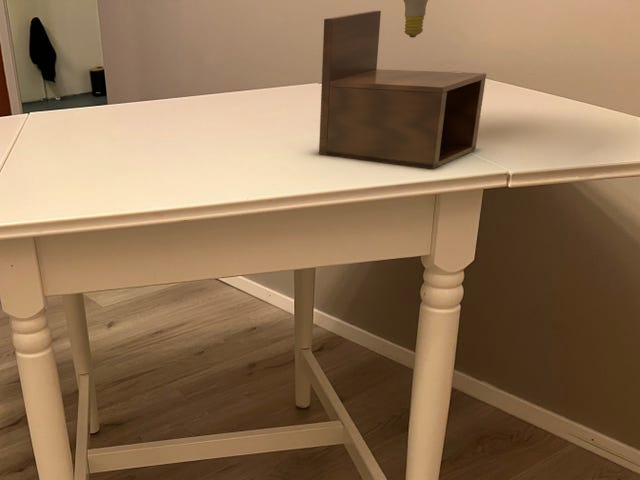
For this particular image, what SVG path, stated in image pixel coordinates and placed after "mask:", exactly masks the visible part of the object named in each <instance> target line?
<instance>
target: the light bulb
mask: <svg viewBox="0 0 640 480" xmlns="http://www.w3.org/2000/svg"><path fill="white" fill-rule="evenodd" d="M403 2H404V17H405V19H404V20H405V21H404V22H405V24H404V34H405V35H407V36H408V37H410V38H412V39H413V38H416V37H417V36H418V35H420V34H421V33H423V31H424V29H423V27H424V25H423V24H424V19H425V15H426V9H427V4H428V2H429V0H403Z"/></svg>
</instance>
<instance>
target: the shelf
mask: <svg viewBox="0 0 640 480" xmlns="http://www.w3.org/2000/svg"><path fill="white" fill-rule="evenodd" d="M381 16H382V11H381V10H369V11H364V12H363V11H362V12H358V13H352V14H346V15H340V16H334V17H327V18H324V19H323V37H322V38H323V39H322V41H323V42H322V63H321V65H322V66H321V68H322V69H321V88H320V89H321V94H320V117H319V118H320V120H319V140H318V141H319V144H318V154H319V155H323V156H324V155H325V156H331V157H338V158H345V159H354V160H362V161H368V162H369V161H370V162H376V163H384V164H385V163H386V164H390V165H391V164H392V165H399V166H405V167H406V166H407V167H414V168H423V169H430V170H435V169H437V168H439V167H442V166H443V165H445V164H447V163H450V162H453V161H454V160H457V159H459V158H461V157H463V156H465V155H467V154H469V153H471V152H475V150H476V148H477V143H478V142H477V141H478V134H479V129H480V128H479V127H480V122H481V121H480V120H481V113H482V106H483V99H484V92H485V86H486V79H487V73H485V72H462V71H459V72H458V71H435V70H434V71H433V70H432V71H431V70H407V69H381V68H380V69H379V68H378V56H379V44H380V43H379V42H380V30H381V29H380V28H381Z"/></svg>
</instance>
